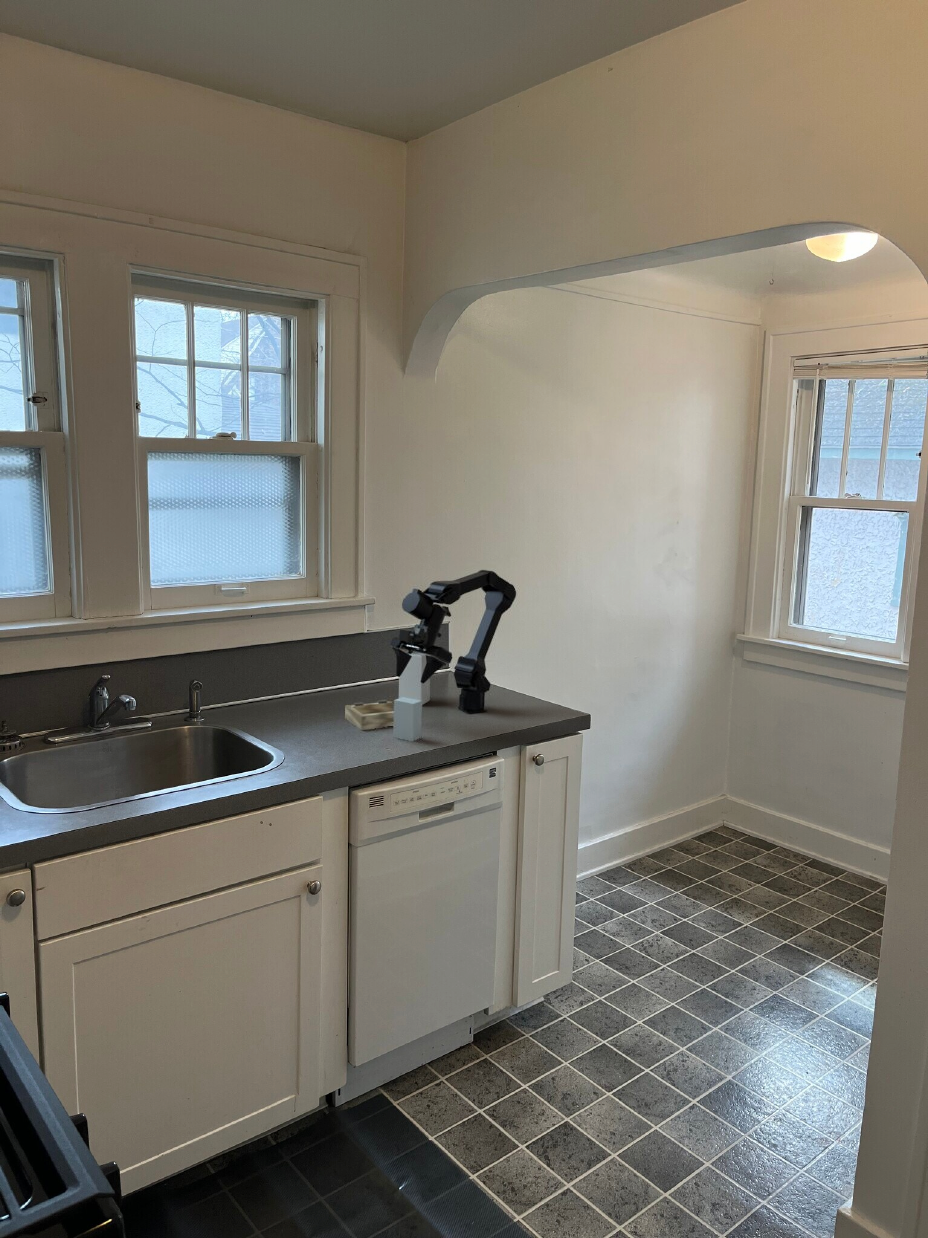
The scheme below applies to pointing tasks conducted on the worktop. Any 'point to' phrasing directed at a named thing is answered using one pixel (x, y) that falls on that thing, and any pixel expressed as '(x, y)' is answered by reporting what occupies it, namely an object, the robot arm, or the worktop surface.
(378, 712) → the wooden tray
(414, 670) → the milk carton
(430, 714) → the worktop surface
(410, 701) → the pale blue box
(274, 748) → the worktop surface
